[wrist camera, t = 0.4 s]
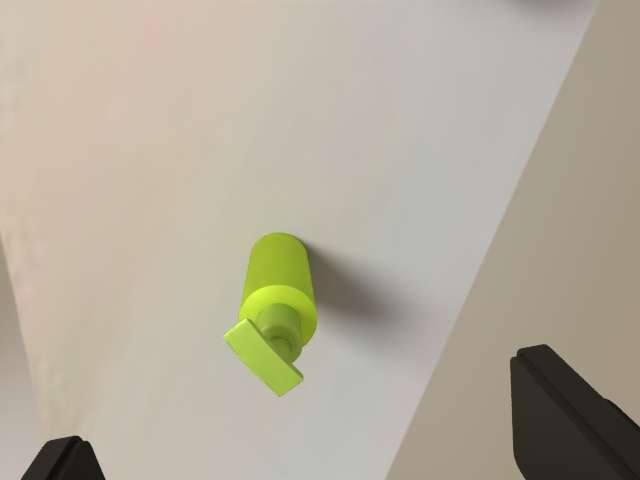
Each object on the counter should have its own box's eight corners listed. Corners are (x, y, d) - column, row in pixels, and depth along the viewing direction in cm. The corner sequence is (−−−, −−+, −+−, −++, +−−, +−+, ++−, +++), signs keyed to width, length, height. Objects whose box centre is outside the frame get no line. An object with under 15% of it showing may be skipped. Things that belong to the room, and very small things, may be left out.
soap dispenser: (276, 213, 44) (272, 301, 25) (319, 263, 46) (345, 380, 27) (231, 248, 45) (194, 360, 26) (275, 296, 47) (270, 432, 28)
